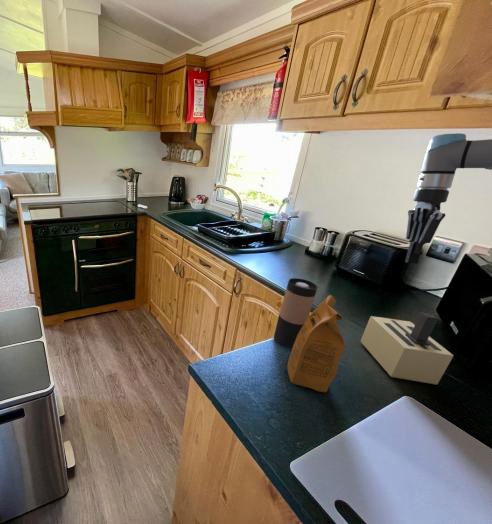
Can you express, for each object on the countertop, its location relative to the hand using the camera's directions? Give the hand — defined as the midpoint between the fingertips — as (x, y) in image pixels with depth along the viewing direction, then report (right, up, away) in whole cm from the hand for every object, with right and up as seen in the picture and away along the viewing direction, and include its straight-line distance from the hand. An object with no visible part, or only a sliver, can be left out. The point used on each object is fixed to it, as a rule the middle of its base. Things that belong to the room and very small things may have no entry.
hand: (411, 262), depth 95 cm
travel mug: (-44, -25, -5) cm, 51 cm away
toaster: (-15, -29, -11) cm, 35 cm away
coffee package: (-45, -30, -19) cm, 58 cm away
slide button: (-15, -21, -18) cm, 31 cm away
